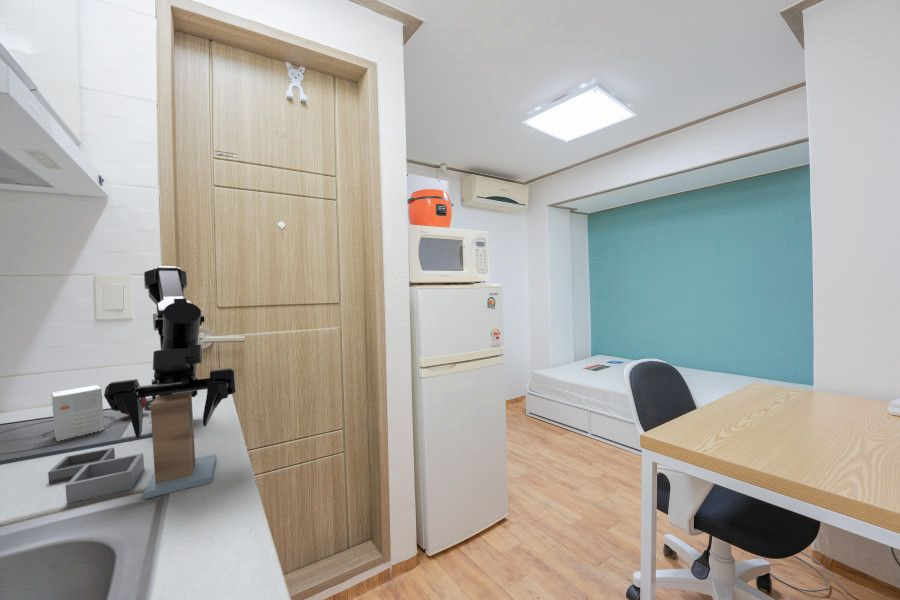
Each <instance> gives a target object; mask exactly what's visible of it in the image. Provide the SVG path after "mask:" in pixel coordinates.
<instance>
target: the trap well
mask: <svg viewBox="0 0 900 600" xmlns="http://www.w3.org/2000/svg"><path fill="white" fill-rule="evenodd" d="M115 457H116V452H115V447H114V446H113V447H108V448H104V449H99V450H93V451H87V452H81V453H77V454H71V455H66V456H65V457H63V458H62V459H61V460H60V461H58V463H57V464H55V465H54V467H52V468H51V469H50V470H49V471H48V472H47V473H48V476H47V477H48V484H54V483H58V482H62V481H67V480H71V479H72V478H73V477H74V476H75V475H76V474H77V473H78V472H79V471H80V469H81V468H82V467H83V466H84V465H85V464H89V463H95V462H100V461H105V460H110V459H115Z"/></svg>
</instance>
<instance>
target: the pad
mask: <svg viewBox="0 0 900 600" xmlns="http://www.w3.org/2000/svg"><path fill="white" fill-rule="evenodd" d="M216 461H217V454H216V453H214V454H213V453H212V454H209V455H204V456H200V457H195V466H194V470H193V473H192V475H191V476H186V477H182V478H178V479H174V480H169V481H165V482H161V483H156V484H155V471H154V473H153V475H152V476H151V477H150V478H151V479H150V480H149V481H148V482H149V483H147V486H146V488H145V490H144V491H143V499H145V500H146V499H151V498H154V497H157V496H158V497H159V496H163V495H166V494H169V493H174V491H175V492H178V491H177V490H179V491H182V490H181V489H183V490H186V489H185V488H187V489H190V488H189V487H191V488H194V486H195V487H198V486H199V487H200V486H202V485H207V484H211V483H213V482H212V481H213V476H214V472H215V466H216Z"/></svg>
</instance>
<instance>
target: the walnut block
mask: <svg viewBox="0 0 900 600" xmlns="http://www.w3.org/2000/svg"><path fill="white" fill-rule="evenodd" d="M150 419H151V434H152V452H153V465H154V466H153V468H154V469H153V470H154V472H155V484H156V483H161V482H165V481H169V480H174V479H178V478H182V477H186V476H191V475H192V473H193V470H194V466H195V458H196V451H195V449H196V448H195V432H194V429H195V428H194V420H193V419H194V415H193V397H192V394H191V392H186V393H179V394H172V395H164V396H156V398H155V399H154V401H152V402H151V403H150Z"/></svg>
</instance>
